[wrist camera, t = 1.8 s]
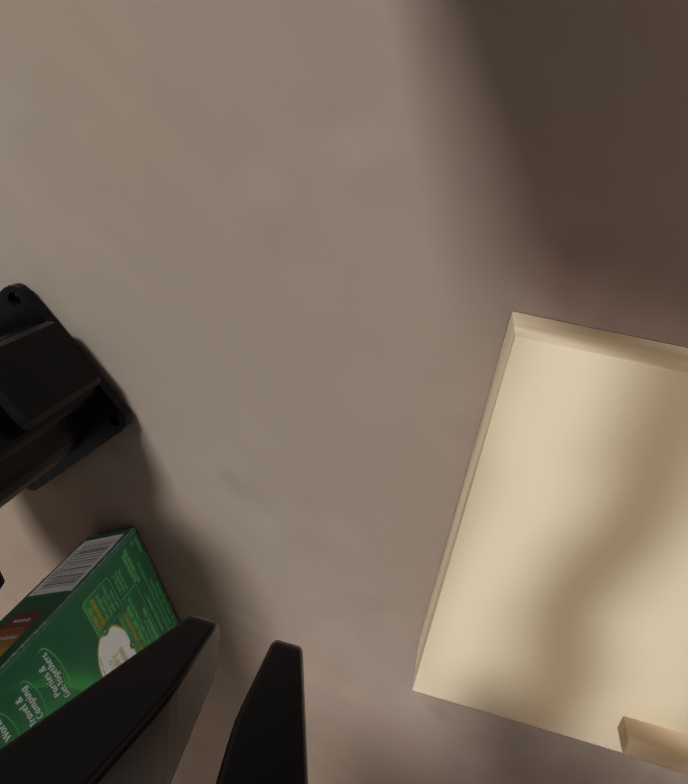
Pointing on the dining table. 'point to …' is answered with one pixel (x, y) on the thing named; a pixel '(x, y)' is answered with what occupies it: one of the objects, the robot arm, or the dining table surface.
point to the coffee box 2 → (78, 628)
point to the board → (572, 546)
